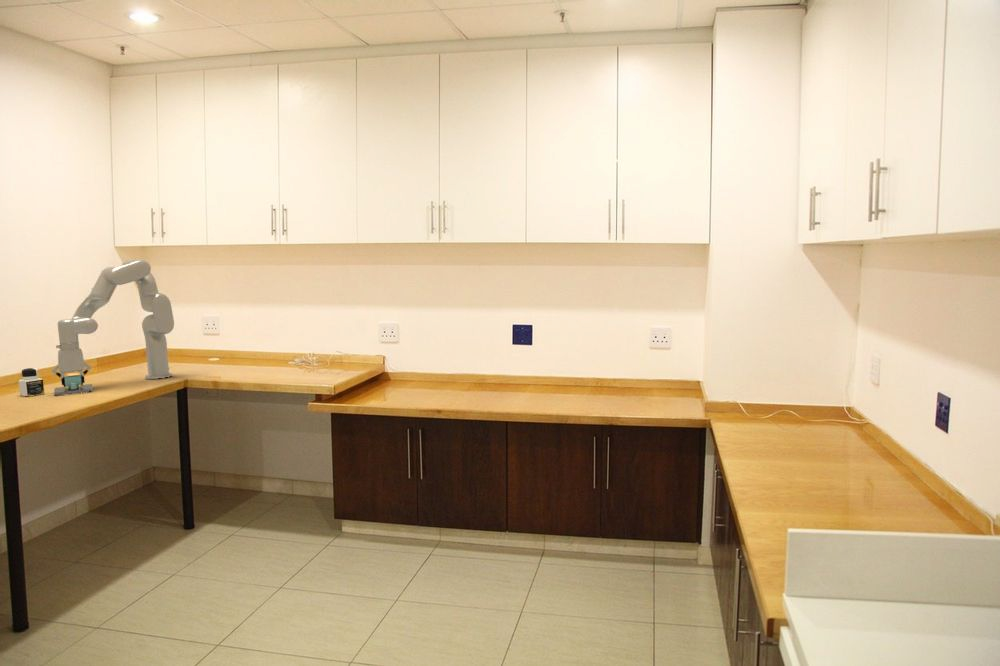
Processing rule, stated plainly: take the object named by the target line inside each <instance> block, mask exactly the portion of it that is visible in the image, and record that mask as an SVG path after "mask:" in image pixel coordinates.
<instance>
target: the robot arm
mask: <svg viewBox="0 0 1000 666" xmlns="http://www.w3.org/2000/svg"><path fill="white" fill-rule="evenodd" d="M151 270H152V267H151V264H150V263H149V262H148V261H147V260H144V259H128V260H125V261H123V262H122V264H121V265H120V266H111V267H110V266H108V267H105V268H104V269H103V270H102V271H100V274H99V276H98V278H97V280H96V282H95V284H94V285H93V287H92V288H91V291H90V293H89V294H88V295H87V297H85V299H83V301H82V302H81V303H80V304H79V306H78V307H77V308H76V310H75V312H74V313H73V316H72V317H71V319H68V318H67V319H60V320H59V321H57V331H58V332H57V333H58V341H59V344H56V345H55V348H56V349H59V350H58V352H57V364H56V366H55V367H54V368H53V369H52V370H51V372H52V373H53V374H54V375H56V376H57V377H59V378H60V380H61V386H63V387H65V378H64V376H66V375H65V374H66V373H74V372H78V373H80V374H79V375H81V383H82V385H84V384H85V382H86V381H85V376H86V375H87V374H88V373H89V371H90V370H91V369H92V366H91V365H90V364H88V363H86V362H85V359H84V354H83V351H82V348H80V341H79V335H90V334H93V333H95V332H96V331H97V330H98V328H99V324H98V322H97V321H96V320H95V318H92V317H93V315H94V314H95V313H96V312H97V311H98V310H99V309H101V308H103V307H105V306H106V305H107V304H108V303H109V302H110V300H111V298H112V296H113V294H114V293H115V290H116V289H117V287H118V286H122V285H126V284H129V283H132V282H134V283H135V284H136V286H137V290H138V296H139V301H140V306H141V308H142V310H144V311H145V312H146V313H147V312H149V313H152V314H149V315H146V316H145V317H144V318H143V320H142V322H141V327H142V332H143V336H144V341H145V351H146V352H145V353H146V362H147V364H146V365H147V375H145V376H144V378H145V380H159V379H158V378H162V379H166V378H165V377H168V378H171V377H170V376H172V377H173V376H174V375H173V373H172V372H170V367H169V356H168V342H167V337H166V335H168V334H171V332H172V331H173V330H174V327H175V320H174V314H173V308H172V303H171V300H170V298H169V297H168V296H167V295H166V294H164V293H162V292H161V293H160V292H159V290H158V286H157V282H156V279H155V277H154V275H153V274H152V273H151ZM85 368H86V369H85Z"/></svg>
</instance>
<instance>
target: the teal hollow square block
mask: <svg viewBox="0 0 1000 666" xmlns="http://www.w3.org/2000/svg"><path fill="white" fill-rule="evenodd" d="M64 378H65V388H66V386H69V389H76V388H78V385H81V387H82V383H81V374H73V375H64Z"/></svg>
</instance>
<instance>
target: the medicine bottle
mask: <svg viewBox="0 0 1000 666" xmlns="http://www.w3.org/2000/svg"><path fill="white" fill-rule="evenodd" d="M38 371H39V369H38V368H36V367H35V368H34V367H32V368H31V367H30V368H23V369H21V377H22V379H19V380H18V382H17V383H18V389H19V396H20V395H22V396H21V397H25V396H31V397H34V396H33V395H36V396H39V395H38V394H42V395H45V386H44V379H43V378H40V377H39V372H38Z"/></svg>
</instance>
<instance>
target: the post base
mask: <svg viewBox="0 0 1000 666" xmlns="http://www.w3.org/2000/svg"><path fill="white" fill-rule="evenodd" d="M93 387H94V386H93V384H92V383H88V384H87V383H86V384H83V385H82V387H81V385H78V388H76V389H69V386H66V388H65V387H64V386H58V387H54V390H53V391H54V393H53V394H54V396H55V395H60V396H63V395H62V394H69V395H73V394H72V393H78V394H82V393H81V392H87V393H90V392H89V391H93V392H94V388H93Z"/></svg>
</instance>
